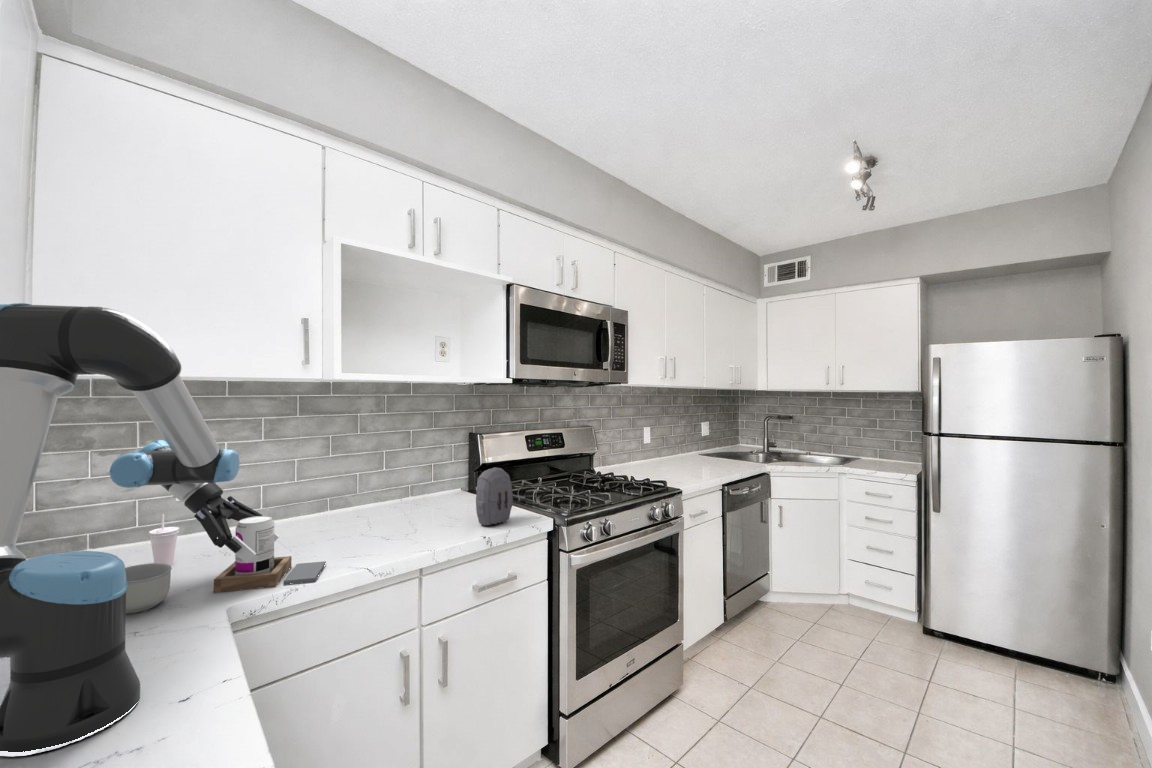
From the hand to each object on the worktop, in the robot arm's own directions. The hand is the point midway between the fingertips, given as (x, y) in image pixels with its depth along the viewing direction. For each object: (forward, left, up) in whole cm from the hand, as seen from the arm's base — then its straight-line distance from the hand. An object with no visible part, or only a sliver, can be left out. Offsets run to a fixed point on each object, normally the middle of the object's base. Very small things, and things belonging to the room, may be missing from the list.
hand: (264, 549), depth 123 cm
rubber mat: (0, -9, -7) cm, 12 cm away
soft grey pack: (+34, -62, -8) cm, 71 cm away
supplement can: (0, +2, -8) cm, 8 cm away
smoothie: (+17, +29, -8) cm, 34 cm away
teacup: (-12, +22, -8) cm, 26 cm away
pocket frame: (0, +2, -7) cm, 8 cm away
